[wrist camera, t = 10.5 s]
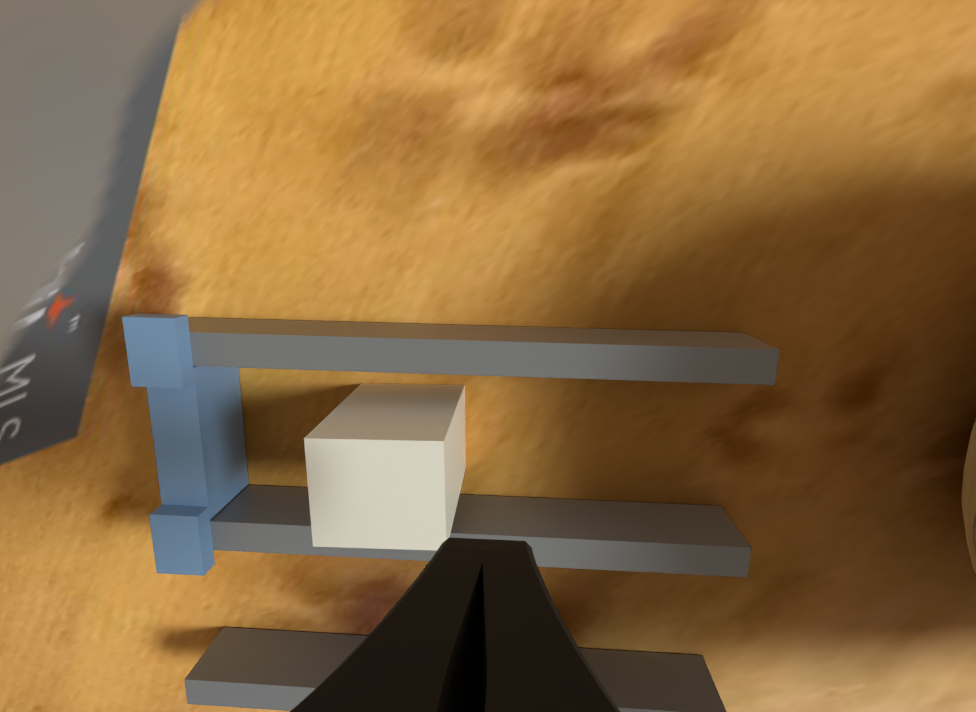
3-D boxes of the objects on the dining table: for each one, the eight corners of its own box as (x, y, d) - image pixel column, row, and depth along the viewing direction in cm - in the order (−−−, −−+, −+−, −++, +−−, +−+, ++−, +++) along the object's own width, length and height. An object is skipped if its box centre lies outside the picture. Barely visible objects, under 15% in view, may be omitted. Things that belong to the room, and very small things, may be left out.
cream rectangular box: (365, 465, 19) (313, 546, 14) (361, 383, 18) (303, 438, 14) (465, 467, 19) (446, 551, 14) (464, 384, 18) (444, 441, 13)
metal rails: (225, 649, 21) (176, 719, 18) (188, 302, 18) (121, 316, 15) (699, 678, 20) (730, 757, 17) (745, 316, 17) (793, 335, 14)
